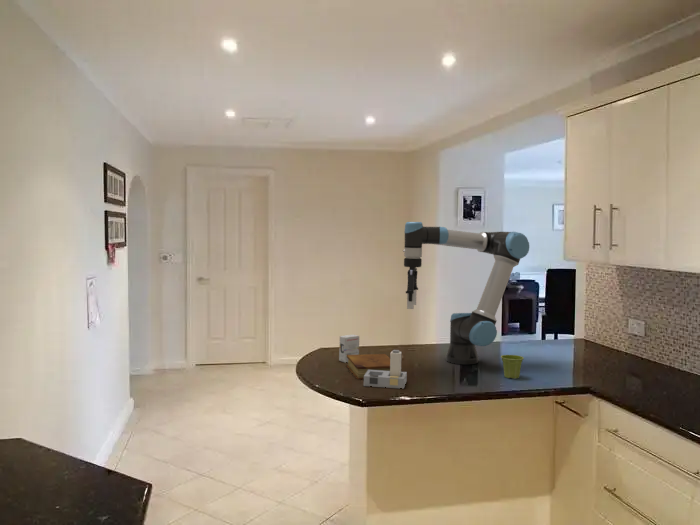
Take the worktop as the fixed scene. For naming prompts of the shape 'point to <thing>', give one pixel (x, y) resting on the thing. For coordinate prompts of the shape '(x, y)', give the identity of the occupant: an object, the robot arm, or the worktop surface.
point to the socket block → (384, 379)
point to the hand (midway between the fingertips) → (411, 306)
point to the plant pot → (512, 365)
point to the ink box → (348, 347)
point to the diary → (367, 363)
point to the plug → (395, 363)
